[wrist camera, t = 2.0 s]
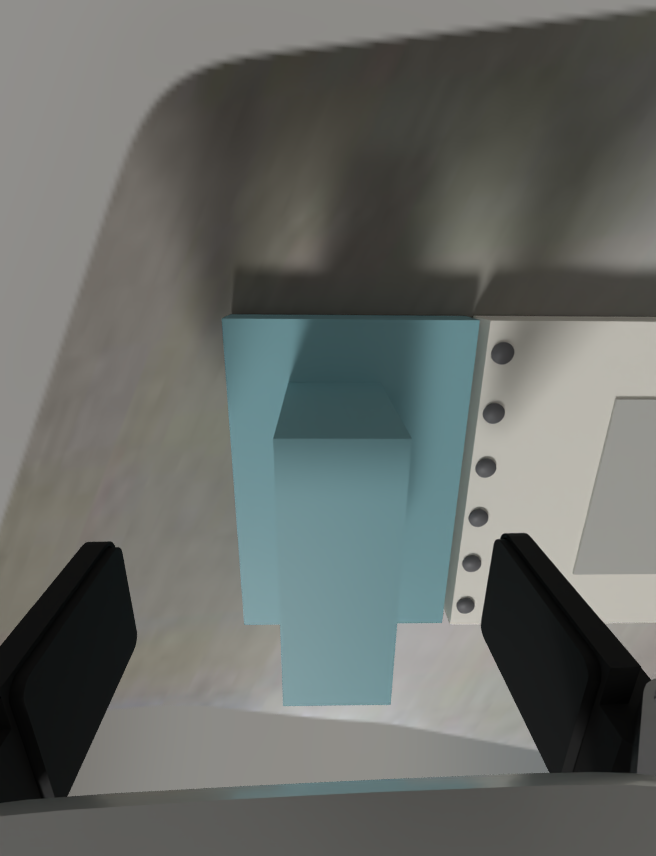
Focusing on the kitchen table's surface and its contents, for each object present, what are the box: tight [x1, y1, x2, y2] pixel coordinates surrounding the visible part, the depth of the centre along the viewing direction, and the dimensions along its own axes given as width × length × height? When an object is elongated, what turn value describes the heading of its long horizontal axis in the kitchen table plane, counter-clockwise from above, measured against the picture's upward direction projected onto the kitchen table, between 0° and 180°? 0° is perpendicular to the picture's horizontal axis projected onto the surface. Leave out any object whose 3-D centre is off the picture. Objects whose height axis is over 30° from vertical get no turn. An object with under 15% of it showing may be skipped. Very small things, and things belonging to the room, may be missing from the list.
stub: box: [222, 314, 480, 706], centre depth 14 cm, size 8×12×6 cm, turn 0°
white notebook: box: [444, 316, 656, 625], centre depth 16 cm, size 14×12×2 cm
